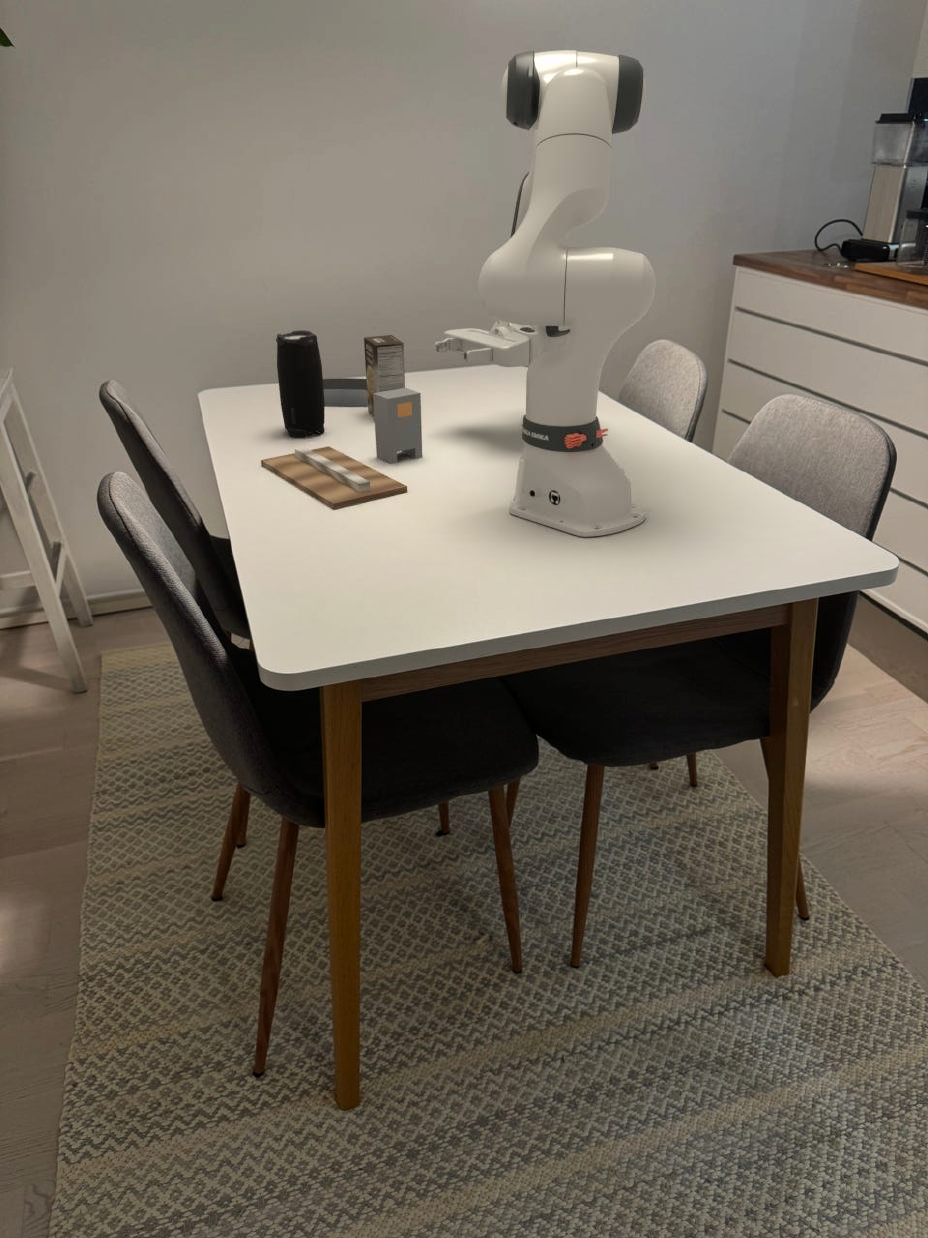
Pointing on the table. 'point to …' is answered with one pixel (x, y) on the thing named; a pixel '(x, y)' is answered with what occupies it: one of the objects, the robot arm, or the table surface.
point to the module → (397, 424)
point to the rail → (333, 477)
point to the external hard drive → (345, 392)
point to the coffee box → (383, 366)
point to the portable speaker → (300, 383)
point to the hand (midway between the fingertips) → (451, 351)
